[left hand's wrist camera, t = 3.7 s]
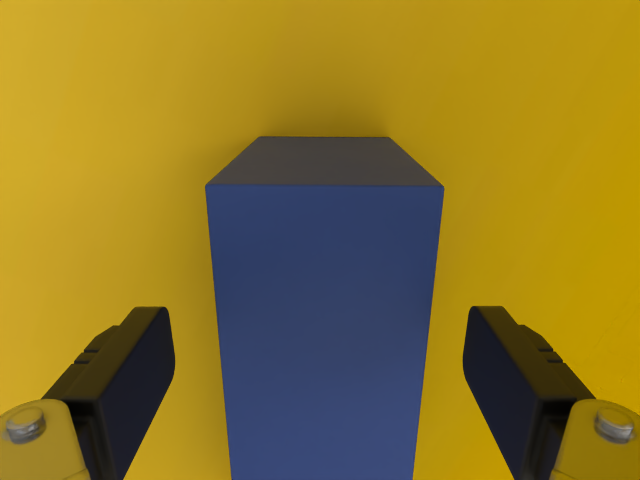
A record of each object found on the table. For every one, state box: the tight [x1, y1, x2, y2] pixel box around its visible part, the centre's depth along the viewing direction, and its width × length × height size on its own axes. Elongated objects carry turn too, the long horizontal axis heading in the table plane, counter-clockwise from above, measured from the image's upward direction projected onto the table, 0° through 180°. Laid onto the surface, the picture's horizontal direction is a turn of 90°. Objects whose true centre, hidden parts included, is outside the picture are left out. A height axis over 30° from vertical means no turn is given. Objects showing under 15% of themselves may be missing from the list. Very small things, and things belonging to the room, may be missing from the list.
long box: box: [205, 137, 444, 480], centre depth 20 cm, size 24×6×10 cm, turn 0°
